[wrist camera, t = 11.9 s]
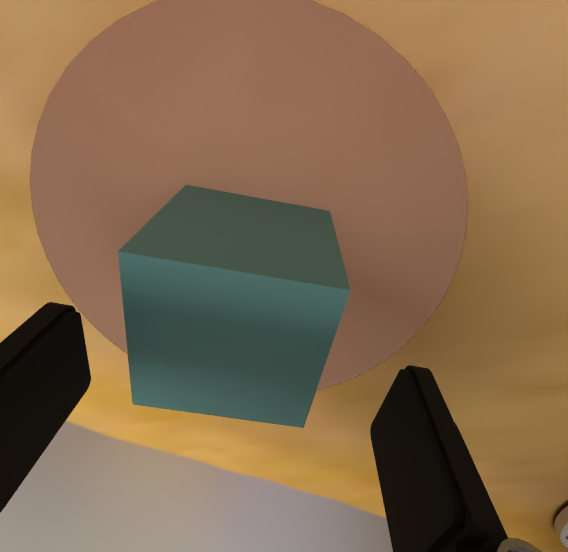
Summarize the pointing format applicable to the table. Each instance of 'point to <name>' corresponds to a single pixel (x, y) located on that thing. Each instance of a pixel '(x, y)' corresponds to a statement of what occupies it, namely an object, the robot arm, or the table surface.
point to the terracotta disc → (254, 155)
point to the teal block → (232, 305)
